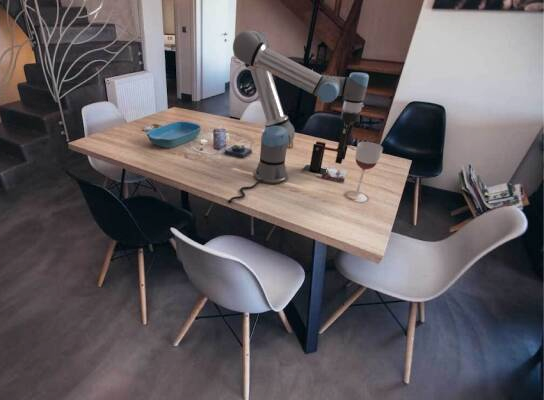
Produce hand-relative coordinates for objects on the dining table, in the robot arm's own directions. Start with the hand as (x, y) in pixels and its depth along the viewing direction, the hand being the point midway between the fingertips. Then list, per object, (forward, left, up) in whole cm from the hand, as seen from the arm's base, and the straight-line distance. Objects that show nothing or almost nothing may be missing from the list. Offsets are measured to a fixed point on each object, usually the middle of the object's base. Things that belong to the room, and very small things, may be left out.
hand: (339, 160), depth 145 cm
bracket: (0, +11, -9) cm, 14 cm away
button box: (0, +55, -9) cm, 55 cm away
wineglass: (-15, -12, -9) cm, 21 cm away
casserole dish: (-3, +98, -9) cm, 98 cm away
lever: (0, +5, +3) cm, 7 cm away
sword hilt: (+28, +40, -9) cm, 49 cm away
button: (0, +55, -5) cm, 55 cm away
